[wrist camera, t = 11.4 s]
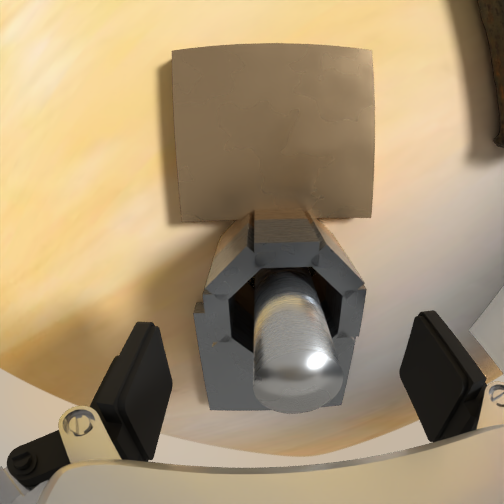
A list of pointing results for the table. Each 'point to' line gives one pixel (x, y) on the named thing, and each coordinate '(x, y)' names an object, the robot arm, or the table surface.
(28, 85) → the table surface
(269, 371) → the hinge pin
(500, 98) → the hand tool
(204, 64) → the hinge
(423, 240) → the table surface
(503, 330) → the light grey cube
